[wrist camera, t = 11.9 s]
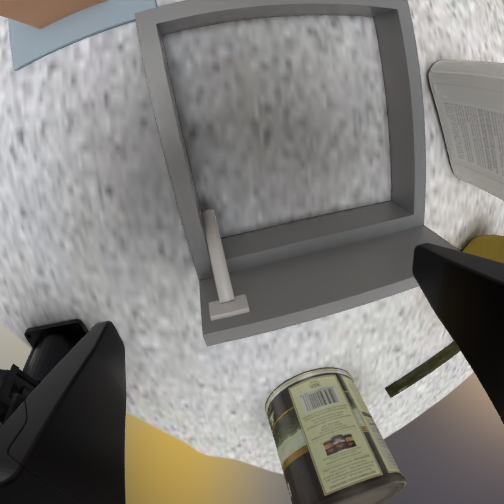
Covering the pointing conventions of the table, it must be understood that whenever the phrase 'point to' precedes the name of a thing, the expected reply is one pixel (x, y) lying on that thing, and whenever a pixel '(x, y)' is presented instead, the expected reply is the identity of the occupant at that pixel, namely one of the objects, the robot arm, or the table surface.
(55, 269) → the table surface
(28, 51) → the mat
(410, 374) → the rod
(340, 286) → the grey open frame
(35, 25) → the block
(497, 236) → the flower pot
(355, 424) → the coffee can
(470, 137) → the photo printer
